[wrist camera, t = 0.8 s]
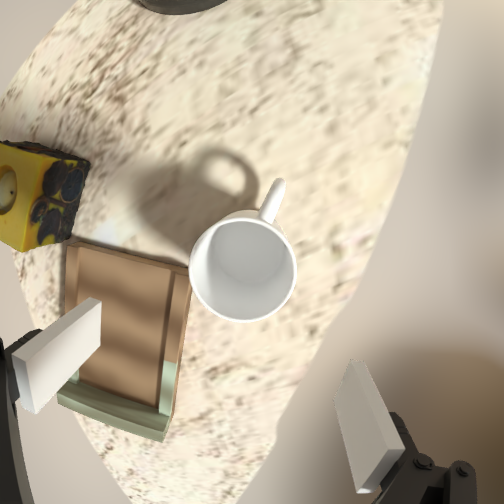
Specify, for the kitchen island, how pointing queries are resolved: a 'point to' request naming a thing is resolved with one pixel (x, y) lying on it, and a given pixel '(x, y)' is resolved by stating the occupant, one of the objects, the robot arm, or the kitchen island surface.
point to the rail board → (128, 338)
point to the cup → (245, 263)
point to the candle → (38, 194)
